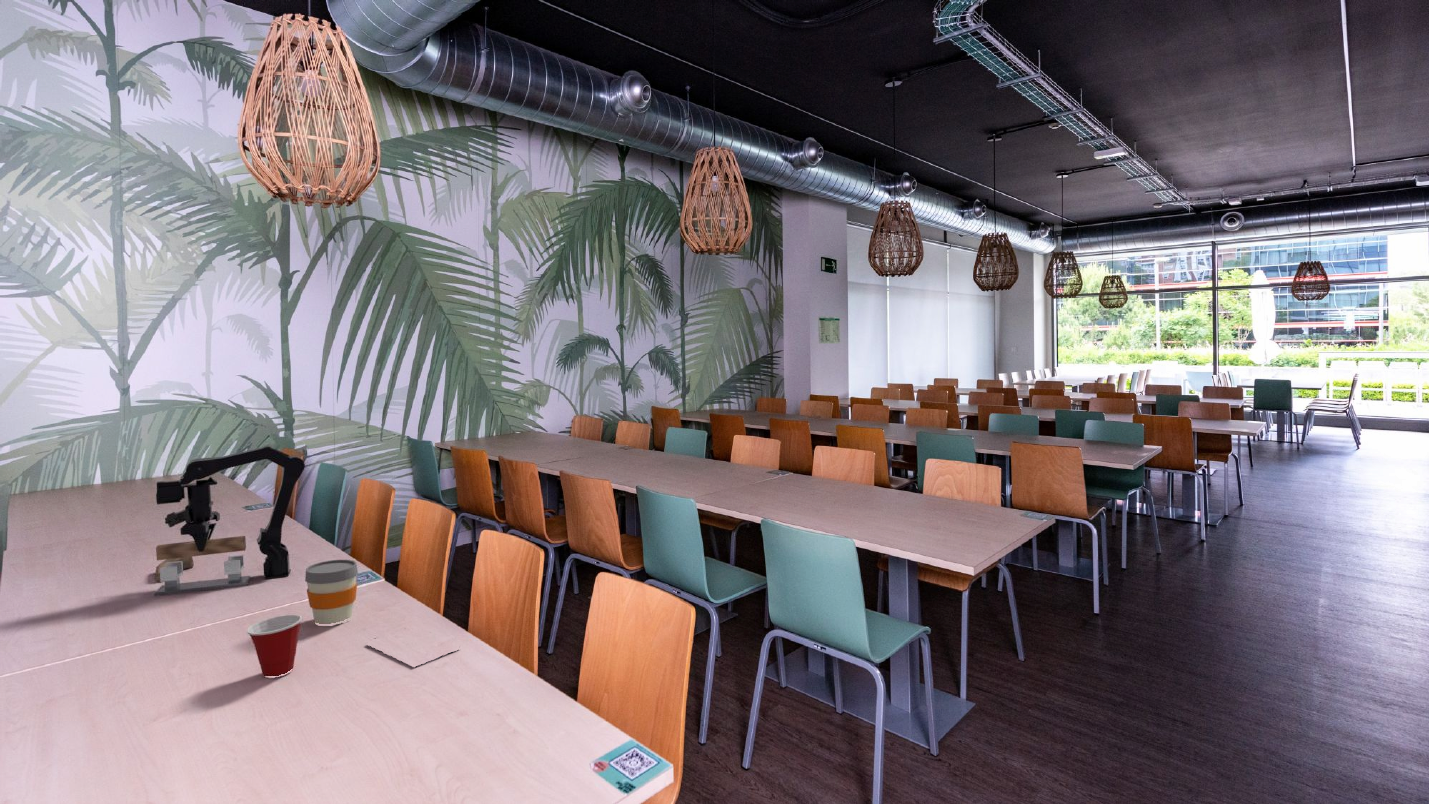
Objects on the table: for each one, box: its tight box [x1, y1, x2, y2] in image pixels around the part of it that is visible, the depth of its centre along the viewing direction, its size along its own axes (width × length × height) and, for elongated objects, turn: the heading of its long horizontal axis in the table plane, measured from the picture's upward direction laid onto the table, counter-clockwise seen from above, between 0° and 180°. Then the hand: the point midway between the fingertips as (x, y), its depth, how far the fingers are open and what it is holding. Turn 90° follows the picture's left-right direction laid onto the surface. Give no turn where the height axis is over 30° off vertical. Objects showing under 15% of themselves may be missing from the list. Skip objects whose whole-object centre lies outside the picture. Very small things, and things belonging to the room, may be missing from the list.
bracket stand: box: [154, 554, 252, 597], centre depth 216 cm, size 23×7×8 cm, turn 114°
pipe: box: [154, 556, 195, 583], centre depth 229 cm, size 6×17×10 cm
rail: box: [155, 535, 247, 561], centre depth 215 cm, size 22×3×4 cm, turn 117°
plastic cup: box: [245, 613, 303, 677], centre depth 159 cm, size 11×11×12 cm
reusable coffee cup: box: [304, 559, 359, 624], centre depth 190 cm, size 13×13×15 cm
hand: (202, 550), depth 215 cm, fingers closed on rail, 3 cm apart
